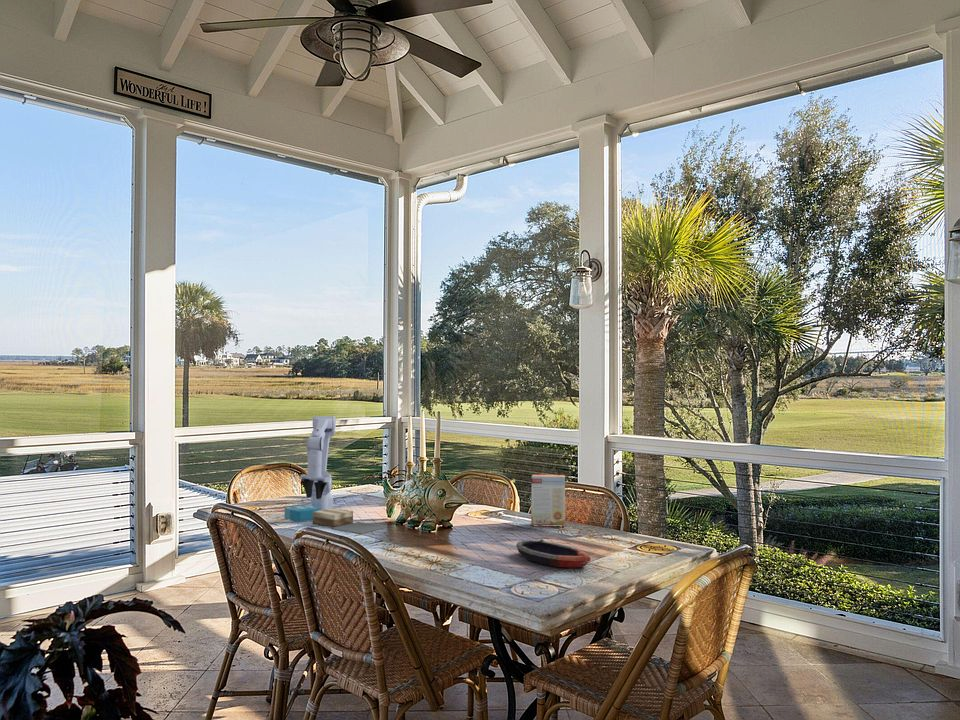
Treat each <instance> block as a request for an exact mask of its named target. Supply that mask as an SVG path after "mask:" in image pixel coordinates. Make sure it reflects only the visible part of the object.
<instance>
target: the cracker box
mask: <svg viewBox="0 0 960 720" xmlns="http://www.w3.org/2000/svg"><path fill="white" fill-rule="evenodd" d="M530 493H531V498H530V499H531V501H530V502H531V503H530V505H531V506H530V511H531V513H530V525H565V526H566V512H565V511H566V475H565V474H531V492H530Z"/></svg>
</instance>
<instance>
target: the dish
mask: <svg viewBox="0 0 960 720" xmlns="http://www.w3.org/2000/svg"><path fill="white" fill-rule="evenodd" d="M515 546H516V548H517V551H518V553H519V554H520V555H521V557H523V558H525V559H526V560H529V561H530V562H531V561H532V562H534V563H537V564H541V565H543V566H544V565H545V566H549V567H555V568H567V569H574V568H582V567H585V566H587V564H588V563H589V562H591V556H590V555H588V553H587V552H585V551H584V550H581V549H578V548H576V547H572V546H569V545H564V544H560V543H554V542H550V541H549V542H548V541H545V540H544V539H540V540H520V541H518V542H517V543H516V545H515Z"/></svg>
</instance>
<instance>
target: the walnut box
mask: <svg viewBox="0 0 960 720" xmlns="http://www.w3.org/2000/svg"><path fill="white" fill-rule="evenodd" d="M350 523H354V515H353V516H351V517H346V518H342V519H337V520H330V519H324V518H318V517H313V520H312V525H317V526H321V527H329V528H333V527H338V526H342V525H346V524H350Z"/></svg>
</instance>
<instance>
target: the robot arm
mask: <svg viewBox="0 0 960 720" xmlns="http://www.w3.org/2000/svg"><path fill="white" fill-rule="evenodd" d="M336 424H337V418H336V416H335V415H313V417H312V431H311V433H310V436H309V437H308V438H306V455H307V474H304V473H303V474H300V477H299V479H300V480H302V481H301V485H302V486H303V489H304V491H305V495H306V498H307V499H308V498H310V505H312V506H315V507H319V508H321V510H324V509H329V508H334V497H333V495H332V493H331V492H332V484H333V482H332V481H333V479H332V478H333V477H332V475H331V474H330V473H329V472H328V471H327V468H328V467H327V465H328V457H329V449H330V448H329V446H330V441H331V438H333V437H334V436H335V433H336V429H337V428H336V426H337V425H336Z"/></svg>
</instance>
